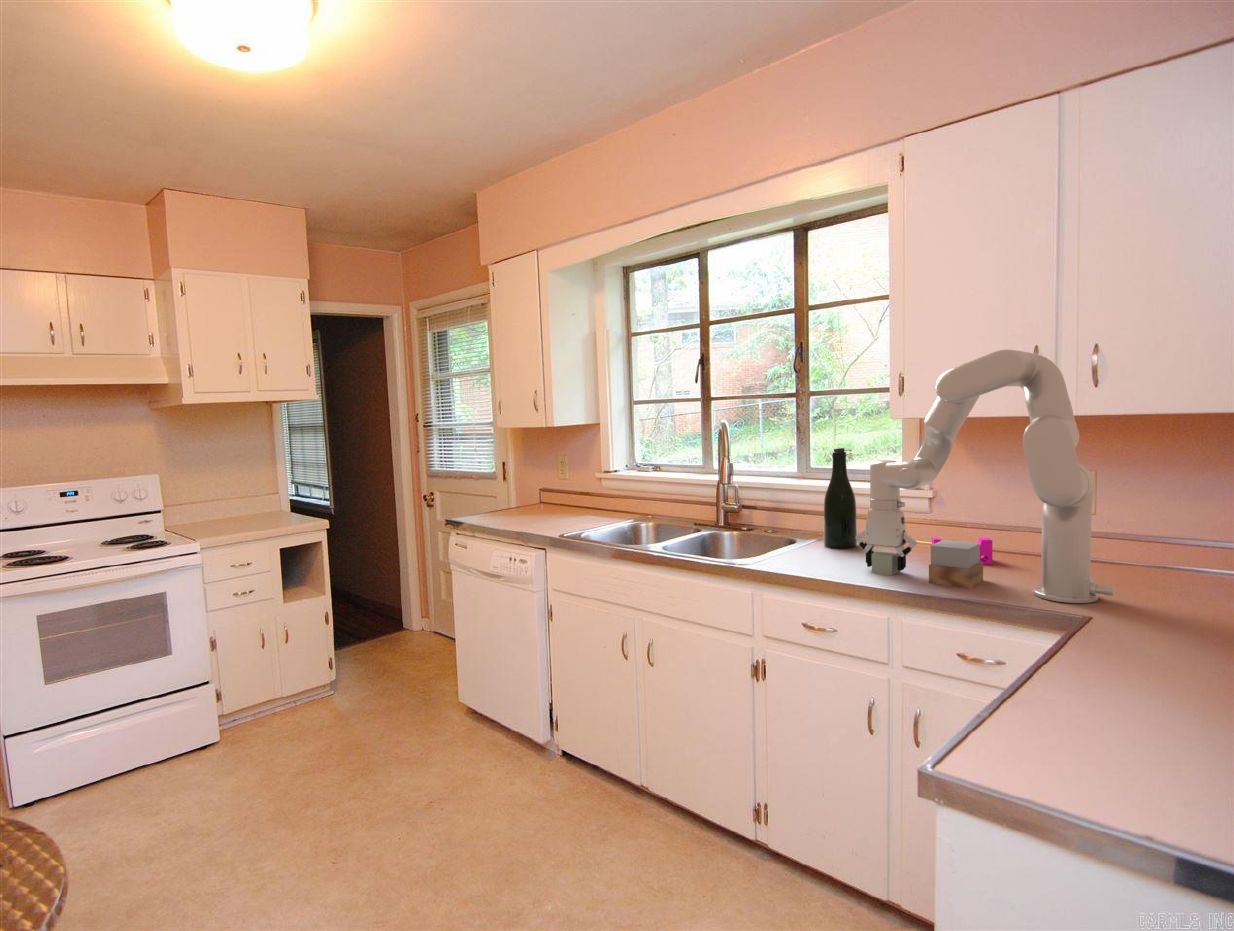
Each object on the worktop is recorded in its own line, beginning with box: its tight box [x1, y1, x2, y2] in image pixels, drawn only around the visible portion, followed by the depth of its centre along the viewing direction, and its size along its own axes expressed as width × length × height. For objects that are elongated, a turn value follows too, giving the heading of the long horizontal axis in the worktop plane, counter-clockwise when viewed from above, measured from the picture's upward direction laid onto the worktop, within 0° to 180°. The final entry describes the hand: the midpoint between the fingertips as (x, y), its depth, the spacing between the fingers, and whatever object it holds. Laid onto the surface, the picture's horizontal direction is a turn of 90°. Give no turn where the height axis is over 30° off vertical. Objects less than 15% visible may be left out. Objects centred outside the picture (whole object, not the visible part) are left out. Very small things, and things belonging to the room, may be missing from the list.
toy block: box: [931, 536, 993, 565], centre depth 192 cm, size 15×6×8 cm, turn 73°
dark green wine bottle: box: [823, 447, 858, 550], centre depth 219 cm, size 10×10×33 cm
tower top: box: [930, 539, 980, 569], centre depth 172 cm, size 9×9×5 cm
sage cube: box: [871, 550, 900, 576], centre depth 185 cm, size 6×6×6 cm
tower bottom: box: [928, 563, 984, 590], centre depth 172 cm, size 10×10×5 cm
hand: (885, 567), depth 185 cm, fingers open, 7 cm apart
